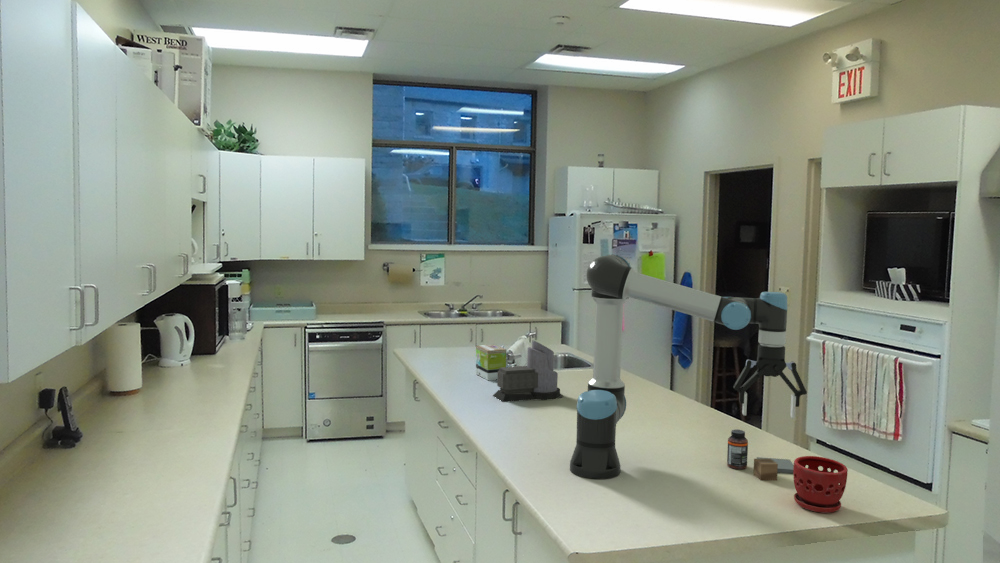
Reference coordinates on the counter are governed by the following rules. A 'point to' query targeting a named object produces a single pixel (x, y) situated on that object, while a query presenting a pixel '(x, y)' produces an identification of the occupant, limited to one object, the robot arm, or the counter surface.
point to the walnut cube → (765, 469)
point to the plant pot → (819, 483)
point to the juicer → (530, 377)
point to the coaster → (782, 465)
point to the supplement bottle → (737, 450)
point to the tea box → (489, 361)
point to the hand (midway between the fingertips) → (768, 415)
